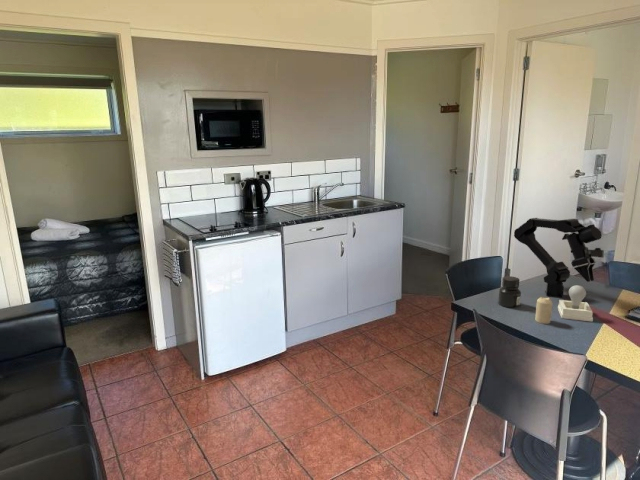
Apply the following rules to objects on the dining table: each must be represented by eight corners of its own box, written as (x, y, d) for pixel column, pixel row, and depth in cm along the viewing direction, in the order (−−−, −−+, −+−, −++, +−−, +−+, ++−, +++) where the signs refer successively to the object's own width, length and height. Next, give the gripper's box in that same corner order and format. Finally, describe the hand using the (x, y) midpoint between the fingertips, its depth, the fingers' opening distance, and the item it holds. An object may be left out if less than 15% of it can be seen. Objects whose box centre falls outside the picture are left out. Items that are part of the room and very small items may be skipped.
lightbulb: (564, 307, 187) (567, 282, 184) (580, 308, 186) (583, 283, 183) (569, 313, 181) (572, 287, 178) (585, 314, 180) (589, 288, 177)
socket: (561, 318, 181) (562, 308, 180) (557, 308, 191) (558, 299, 190) (592, 321, 177) (593, 312, 176) (586, 311, 187) (588, 302, 186)
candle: (549, 319, 180) (551, 296, 178) (551, 324, 175) (554, 300, 172) (534, 317, 182) (536, 294, 179) (535, 323, 177) (538, 299, 174)
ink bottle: (523, 308, 191) (525, 282, 188) (502, 308, 191) (504, 282, 189) (514, 300, 201) (516, 275, 198) (494, 300, 201) (496, 275, 198)
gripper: (594, 239, 181) (608, 276, 177) (601, 241, 195) (615, 275, 192) (565, 248, 188) (578, 284, 184) (574, 249, 202) (586, 282, 198)
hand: (590, 281), depth 189 cm, fingers open, 9 cm apart
